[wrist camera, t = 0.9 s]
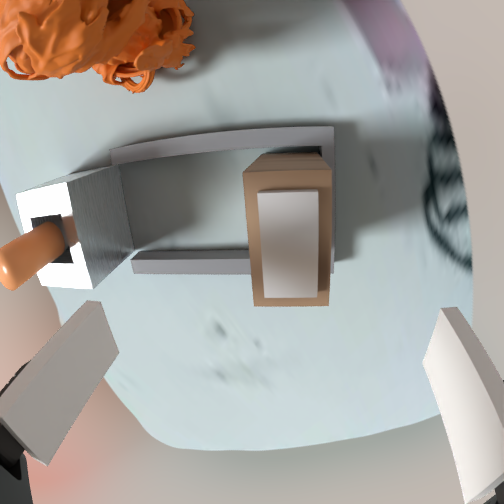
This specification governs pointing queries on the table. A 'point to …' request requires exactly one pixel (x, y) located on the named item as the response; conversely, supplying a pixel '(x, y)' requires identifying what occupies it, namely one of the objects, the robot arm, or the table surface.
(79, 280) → the grey block with hole
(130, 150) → the guide channel
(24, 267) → the orange rounded peg
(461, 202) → the table surface
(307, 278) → the carriage
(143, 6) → the orange figurine
